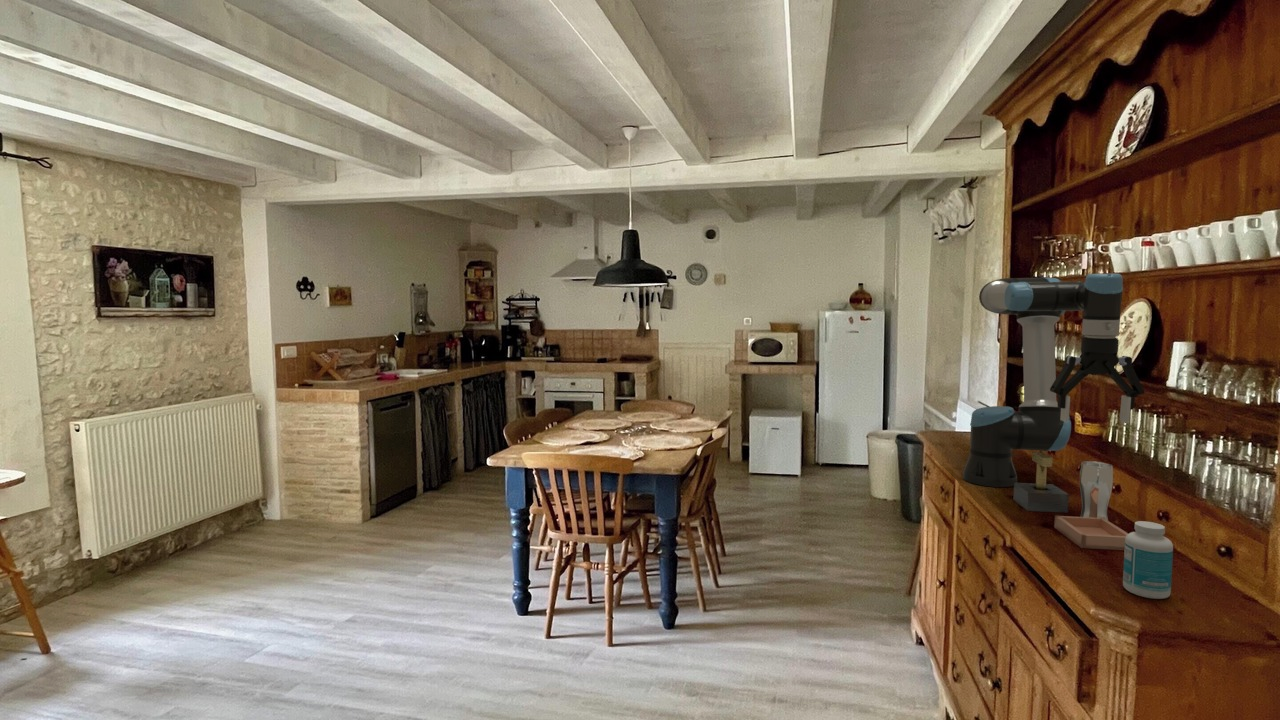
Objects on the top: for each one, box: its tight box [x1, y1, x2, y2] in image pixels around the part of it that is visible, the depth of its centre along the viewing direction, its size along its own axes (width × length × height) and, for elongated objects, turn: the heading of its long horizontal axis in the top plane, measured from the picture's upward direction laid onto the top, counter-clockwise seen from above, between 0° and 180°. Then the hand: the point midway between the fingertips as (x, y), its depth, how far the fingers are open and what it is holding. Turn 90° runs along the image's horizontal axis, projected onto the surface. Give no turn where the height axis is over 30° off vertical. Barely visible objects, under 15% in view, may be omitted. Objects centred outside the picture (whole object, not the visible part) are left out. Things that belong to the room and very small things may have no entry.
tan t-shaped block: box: [1031, 451, 1054, 490], centre depth 181 cm, size 7×2×14 cm, turn 170°
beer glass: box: [1079, 460, 1114, 521], centre depth 168 cm, size 7×7×15 cm
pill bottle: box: [1122, 520, 1174, 600], centre depth 128 cm, size 8×7×14 cm
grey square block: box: [1012, 482, 1070, 514], centre depth 182 cm, size 10×10×5 cm
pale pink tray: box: [1054, 515, 1129, 551], centre depth 157 cm, size 14×11×3 cm
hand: (1094, 421), depth 164 cm, fingers open, 13 cm apart
